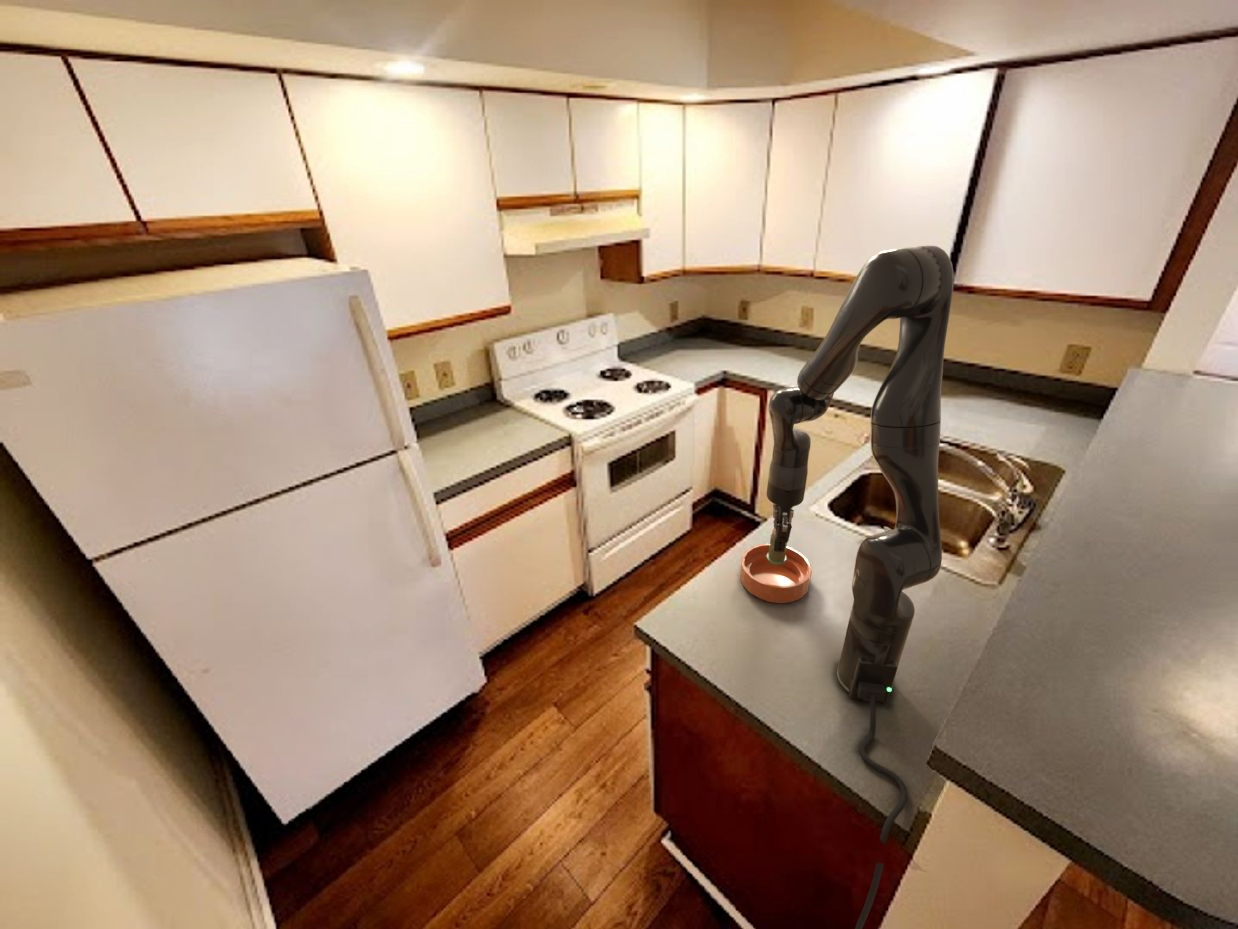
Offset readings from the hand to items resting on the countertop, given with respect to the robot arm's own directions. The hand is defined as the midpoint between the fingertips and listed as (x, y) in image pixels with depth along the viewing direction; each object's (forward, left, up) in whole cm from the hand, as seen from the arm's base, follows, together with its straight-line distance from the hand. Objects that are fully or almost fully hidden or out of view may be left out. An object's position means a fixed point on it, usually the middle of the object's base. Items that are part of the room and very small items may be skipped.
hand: (778, 544), depth 118 cm
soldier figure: (+15, -25, -11) cm, 31 cm away
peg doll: (0, 0, -4) cm, 4 cm away
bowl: (0, 0, -11) cm, 11 cm away
